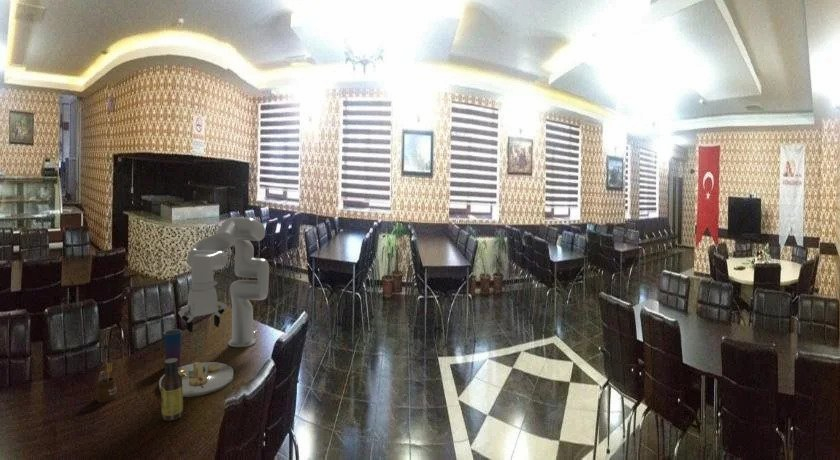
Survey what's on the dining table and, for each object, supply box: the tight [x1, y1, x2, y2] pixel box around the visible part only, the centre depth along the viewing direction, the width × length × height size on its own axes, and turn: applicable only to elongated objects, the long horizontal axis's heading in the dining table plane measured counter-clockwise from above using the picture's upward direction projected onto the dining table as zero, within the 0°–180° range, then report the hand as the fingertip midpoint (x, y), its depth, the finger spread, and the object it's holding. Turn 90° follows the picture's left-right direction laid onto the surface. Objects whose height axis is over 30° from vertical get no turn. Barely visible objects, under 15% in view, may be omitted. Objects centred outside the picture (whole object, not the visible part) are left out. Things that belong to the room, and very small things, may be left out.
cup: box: [162, 328, 183, 367], centre depth 182 cm, size 7×7×15 cm
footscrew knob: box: [189, 361, 208, 386], centre depth 163 cm, size 7×6×7 cm
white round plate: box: [158, 361, 234, 398], centre depth 169 cm, size 26×26×4 cm
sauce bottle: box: [160, 358, 184, 422], centre depth 143 cm, size 6×6×20 cm
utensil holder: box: [95, 362, 117, 403], centre depth 153 cm, size 6×6×12 cm
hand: (203, 328), depth 167 cm, fingers open, 9 cm apart
